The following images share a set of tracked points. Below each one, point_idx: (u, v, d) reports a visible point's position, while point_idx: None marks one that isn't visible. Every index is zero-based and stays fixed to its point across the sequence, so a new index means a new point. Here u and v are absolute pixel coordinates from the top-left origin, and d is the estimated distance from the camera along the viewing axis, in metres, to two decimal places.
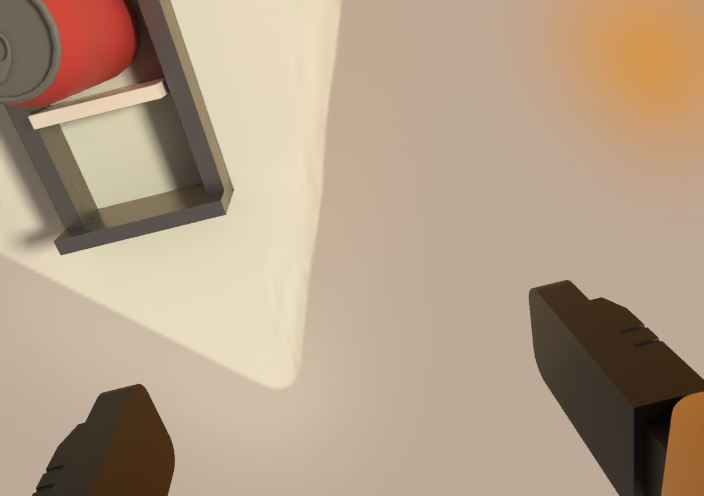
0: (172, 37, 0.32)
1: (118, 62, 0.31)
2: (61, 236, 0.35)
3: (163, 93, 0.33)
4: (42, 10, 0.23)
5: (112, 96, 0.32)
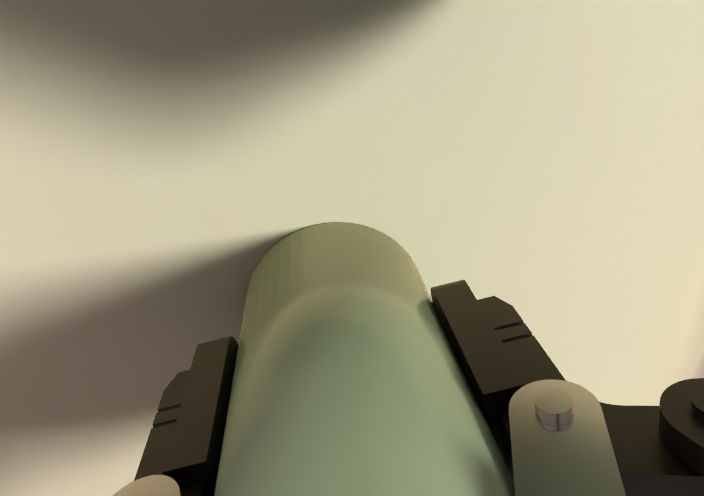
0: None
1: None
2: None
3: None
4: None
5: None
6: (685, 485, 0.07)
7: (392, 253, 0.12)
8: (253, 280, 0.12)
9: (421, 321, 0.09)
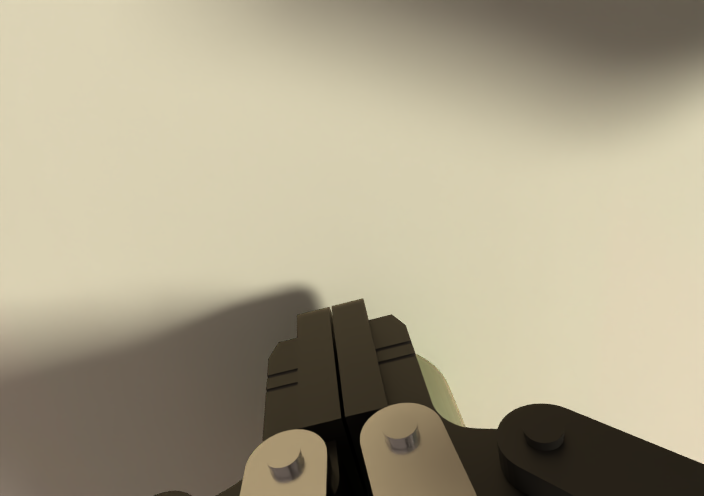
0: None
1: None
2: None
3: None
4: None
5: None
6: None
7: (428, 382, 0.13)
8: None
9: None
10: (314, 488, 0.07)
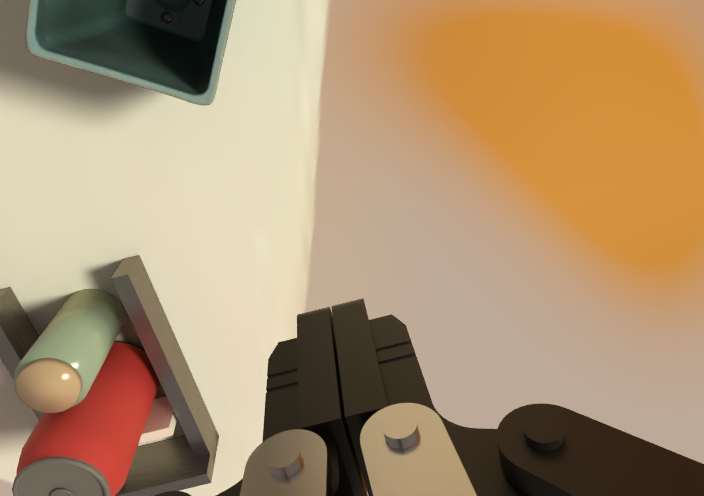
0: (167, 357, 0.40)
1: None
2: None
3: (174, 426, 0.42)
4: (100, 482, 0.33)
5: None
6: None
7: (100, 298, 0.40)
8: None
9: (87, 319, 0.37)
10: (314, 488, 0.07)
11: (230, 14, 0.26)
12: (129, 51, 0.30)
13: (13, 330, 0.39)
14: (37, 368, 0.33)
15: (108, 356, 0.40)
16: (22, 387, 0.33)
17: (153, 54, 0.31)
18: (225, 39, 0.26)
